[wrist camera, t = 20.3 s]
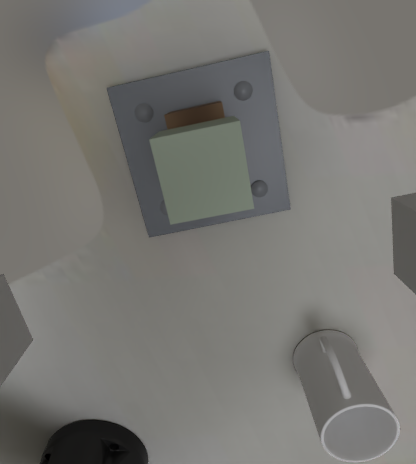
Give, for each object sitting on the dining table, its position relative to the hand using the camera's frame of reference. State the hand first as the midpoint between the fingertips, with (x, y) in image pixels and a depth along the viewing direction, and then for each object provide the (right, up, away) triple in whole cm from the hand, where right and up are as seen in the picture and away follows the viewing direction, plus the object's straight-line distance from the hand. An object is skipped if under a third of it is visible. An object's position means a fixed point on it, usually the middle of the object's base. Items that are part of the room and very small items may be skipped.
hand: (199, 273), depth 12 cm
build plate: (0, +10, +27) cm, 29 cm away
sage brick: (0, +8, +20) cm, 22 cm away
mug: (+15, -14, +36) cm, 41 cm away
